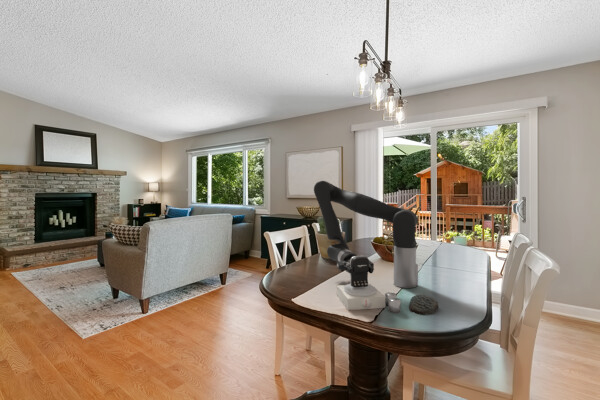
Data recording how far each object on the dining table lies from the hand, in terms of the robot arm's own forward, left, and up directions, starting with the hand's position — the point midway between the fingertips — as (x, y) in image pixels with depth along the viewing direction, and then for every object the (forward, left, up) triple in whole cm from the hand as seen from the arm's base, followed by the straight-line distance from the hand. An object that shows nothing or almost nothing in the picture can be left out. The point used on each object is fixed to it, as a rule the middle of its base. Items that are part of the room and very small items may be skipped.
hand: (361, 271), depth 105 cm
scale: (0, -2, -12) cm, 12 cm away
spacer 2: (-9, +8, -12) cm, 17 cm away
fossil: (-20, +6, -13) cm, 25 cm away
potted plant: (-6, -73, -12) cm, 74 cm away
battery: (0, -2, -7) cm, 7 cm away
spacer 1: (-10, +3, -12) cm, 16 cm away
